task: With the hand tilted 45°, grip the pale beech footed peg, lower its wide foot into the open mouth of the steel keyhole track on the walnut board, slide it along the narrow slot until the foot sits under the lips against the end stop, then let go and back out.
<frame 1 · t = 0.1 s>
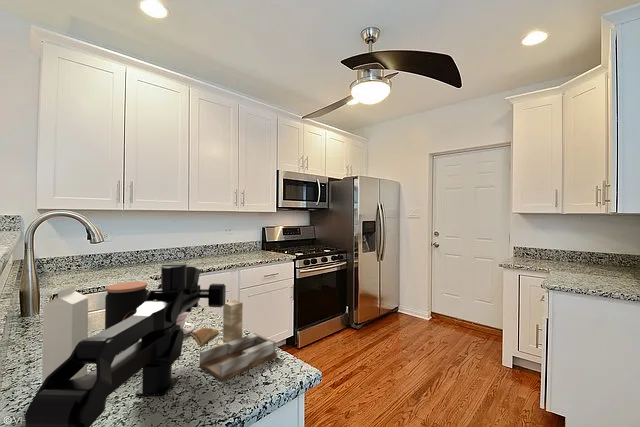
hand: (203, 288, 93), 17 cm above the countertop, tool horizontal, fingers open, 9 cm apart
keyhole board: (239, 361, 81), on the countertop
coffee jar: (126, 345, 90), on the countertop
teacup: (175, 331, 102), on the countertop
milk: (65, 382, 70), on the countertop
shard: (207, 339, 97), on the countertop
beech peg: (232, 346, 90), on the countertop
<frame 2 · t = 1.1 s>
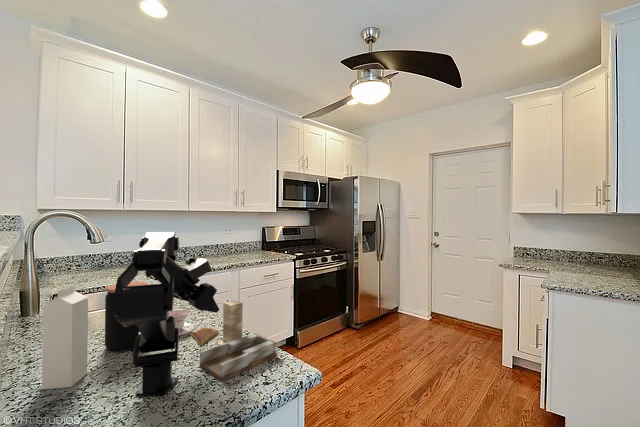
hand: (209, 306, 85), 13 cm above the countertop, tool tilted 45°, fingers open, 9 cm apart
nothing on the countertop moved.
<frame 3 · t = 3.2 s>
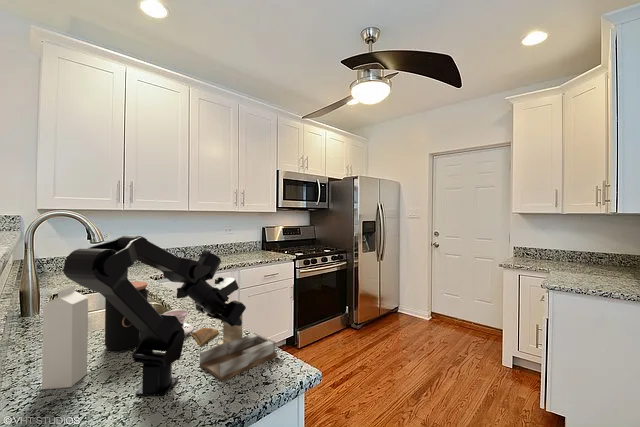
hand: (236, 322, 91), 7 cm above the countertop, tool tilted 45°, fingers closed on beech peg, 4 cm apart
beech peg: (232, 346, 90), on the countertop, touching gripper
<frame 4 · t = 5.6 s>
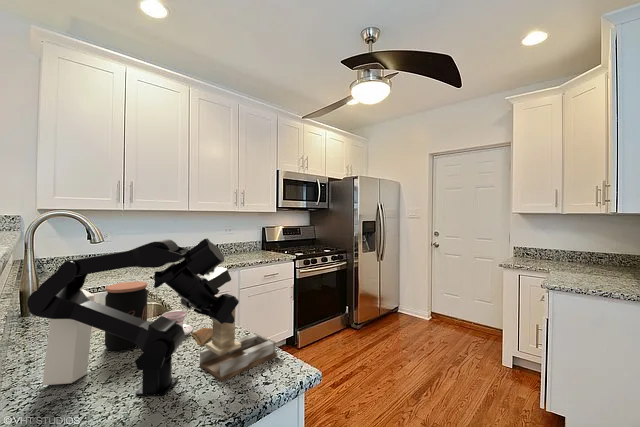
hand: (228, 320, 78), 12 cm above the countertop, tool tilted 45°, fingers closed on beech peg, 4 cm apart
milk: (65, 380, 70), on the countertop, touching arm
beech peg: (223, 347, 77), point 5 cm above the countertop, touching gripper
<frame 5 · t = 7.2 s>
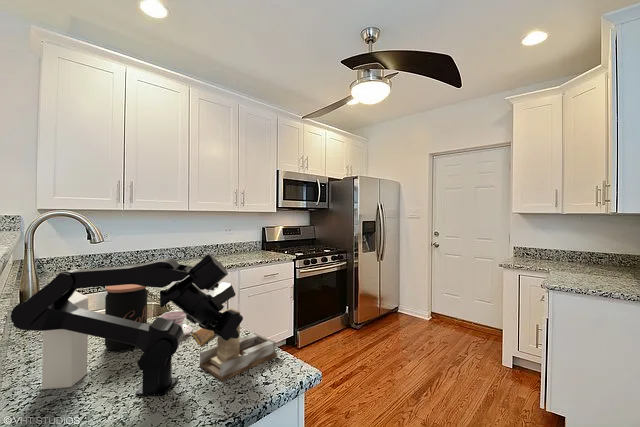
hand: (233, 334, 79), 8 cm above the countertop, tool tilted 45°, fingers closed on beech peg, 4 cm apart
milk: (65, 382, 70), on the countertop
beech peg: (228, 361, 78), point 1 cm above the countertop, touching gripper
when the fingers open (8 cm above the countertop, at t = 9.8 s): beech peg stays where it is, resting on keyhole board.
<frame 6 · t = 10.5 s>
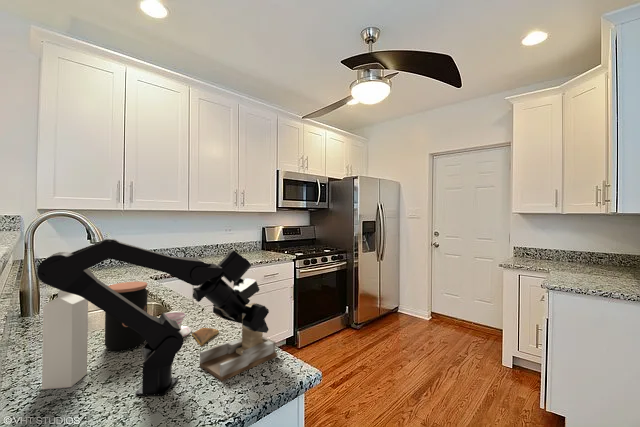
hand: (257, 326, 85), 8 cm above the countertop, tool tilted 45°, fingers open, 9 cm apart
beech peg: (252, 352, 84), point 1 cm above the countertop, touching keyhole board
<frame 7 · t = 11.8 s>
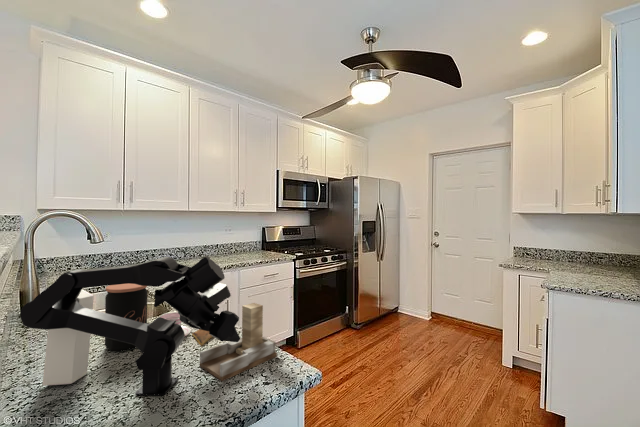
hand: (228, 335, 78), 8 cm above the countertop, tool tilted 45°, fingers open, 9 cm apart
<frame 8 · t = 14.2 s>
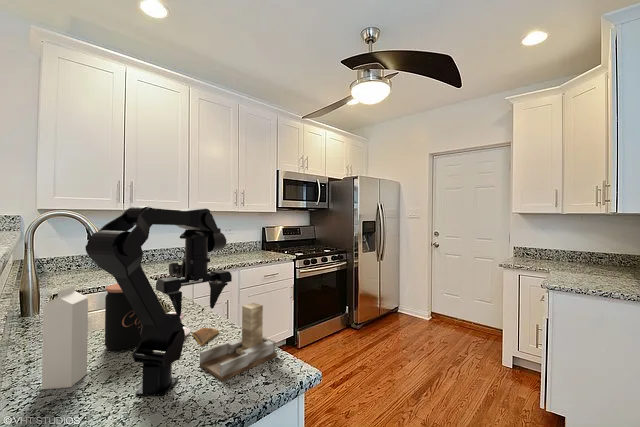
hand: (195, 312, 81), 13 cm above the countertop, tool pointing down, fingers open, 9 cm apart
at the end: beech peg 0.2 cm from the target spot on the keyhole board, point 1.0 cm above the keyhole board's base; beech peg tilted 0°; the gripper is holding nothing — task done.
